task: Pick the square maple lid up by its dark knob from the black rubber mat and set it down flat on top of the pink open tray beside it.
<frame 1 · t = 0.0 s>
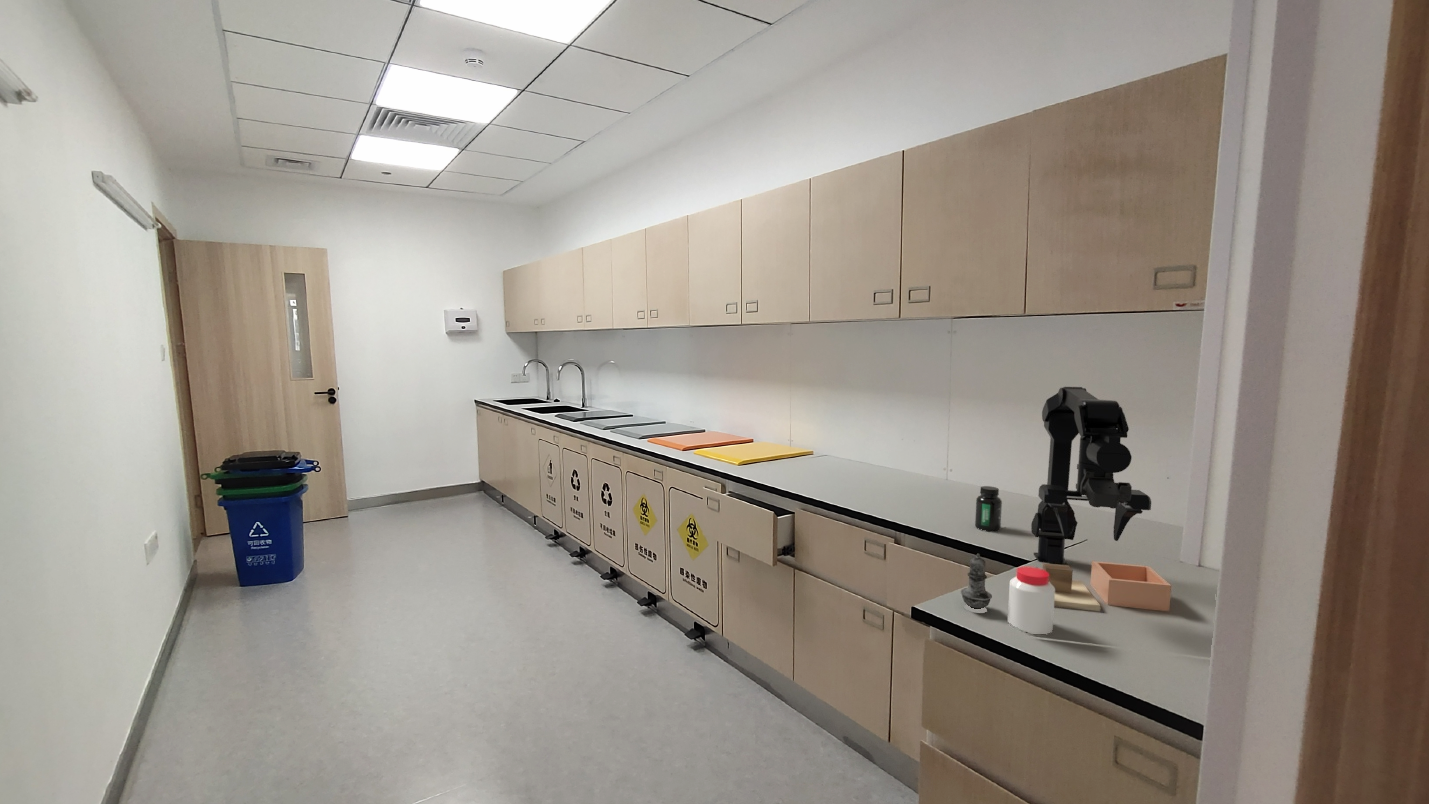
hand: (1089, 538, 125), 15 cm above the worktop, tool pointing down, fingers open, 9 cm apart
lid: (1055, 594, 132), resting on mat
pink open tray: (1127, 599, 131), on the worktop
mat: (1055, 596, 132), on the worktop
supplement bottle: (987, 528, 180), on the worktop
pill bottle: (1029, 628, 118), on the worktop
grey figurine: (975, 611, 125), on the worktop
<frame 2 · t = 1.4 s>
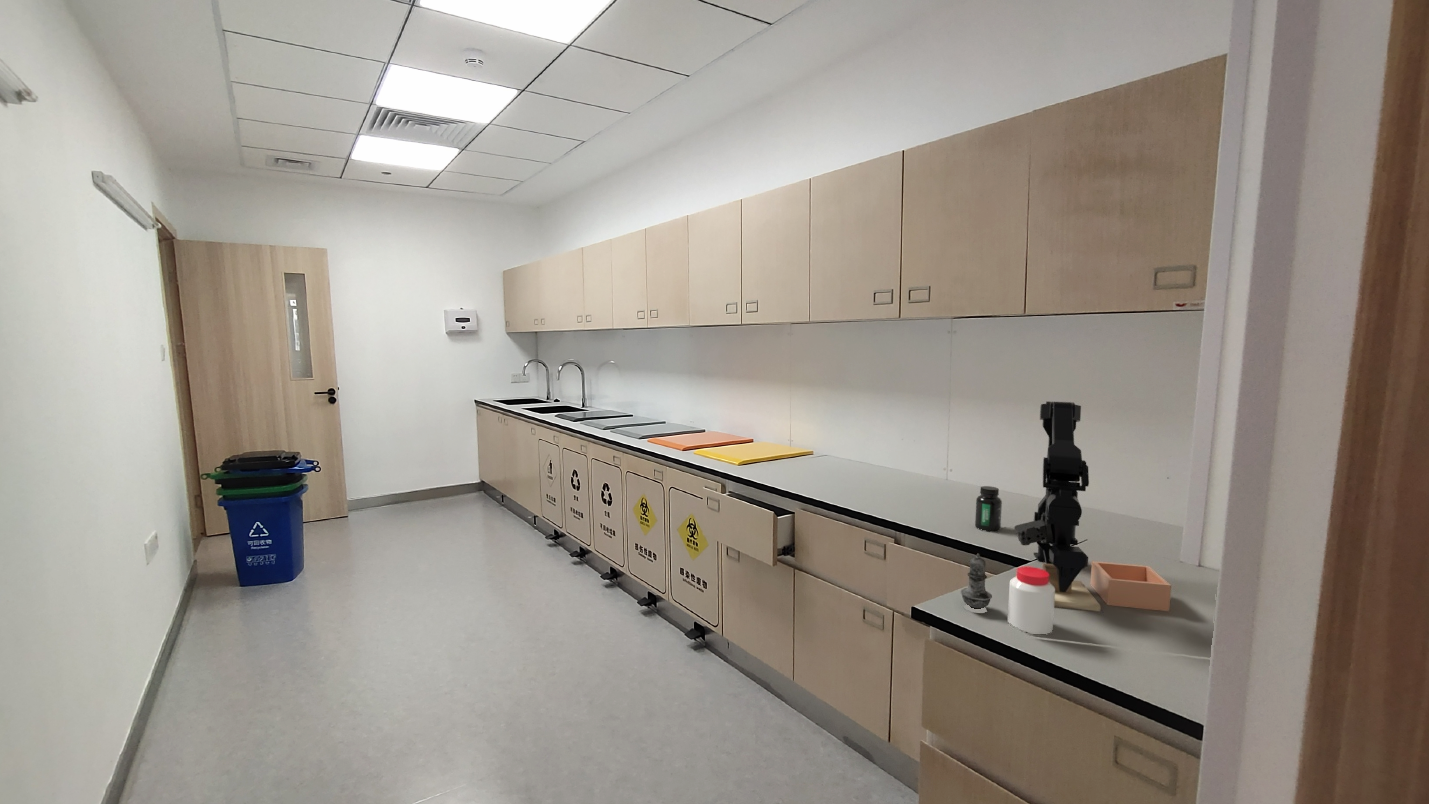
hand: (1056, 583, 132), 3 cm above the worktop, tool pointing down, fingers open, 9 cm apart
nothing on the worktop moved.
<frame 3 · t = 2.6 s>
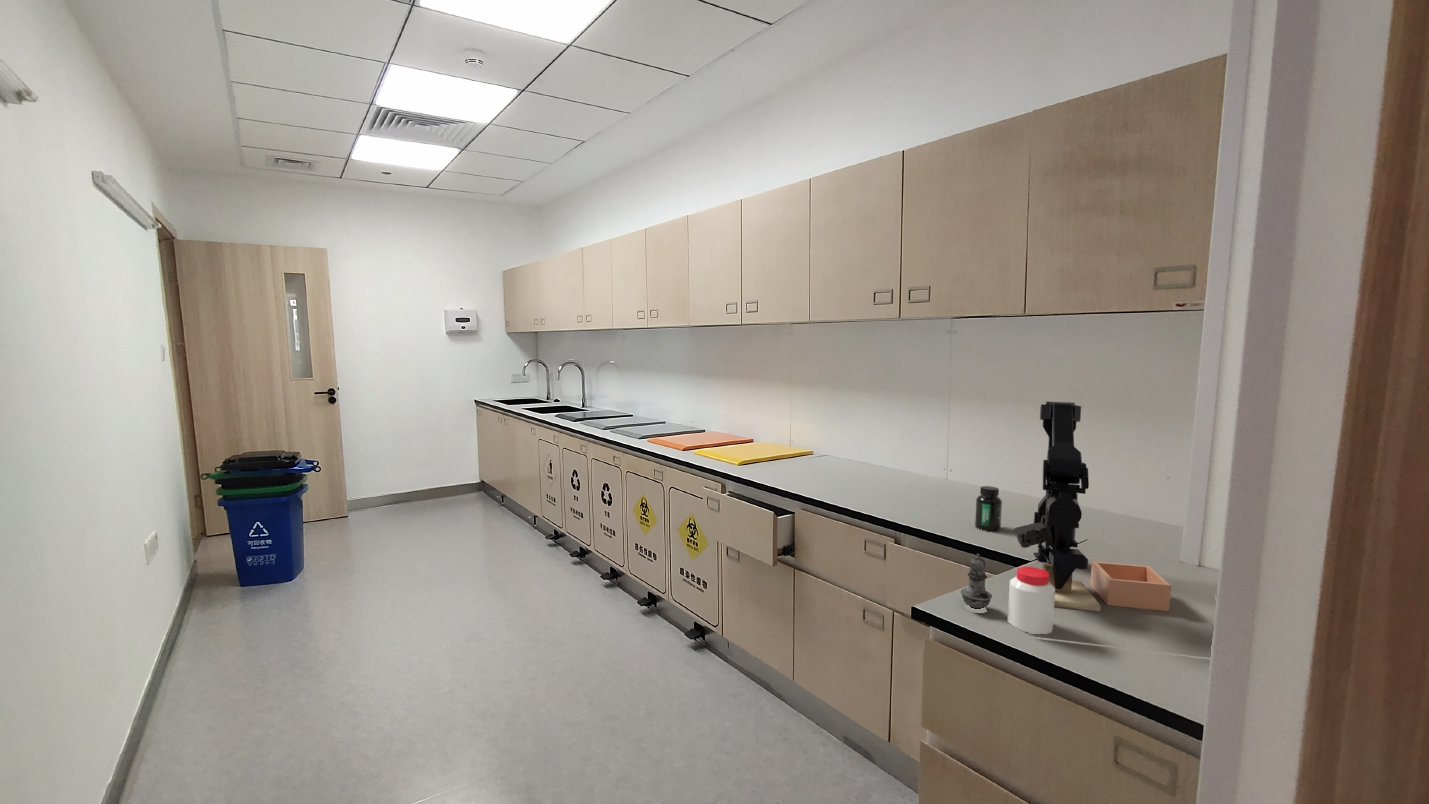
hand: (1056, 585, 132), 2 cm above the worktop, tool pointing down, fingers closed on lid, 3 cm apart
lid: (1055, 594, 132), resting on mat, touching gripper
everything else where it was.
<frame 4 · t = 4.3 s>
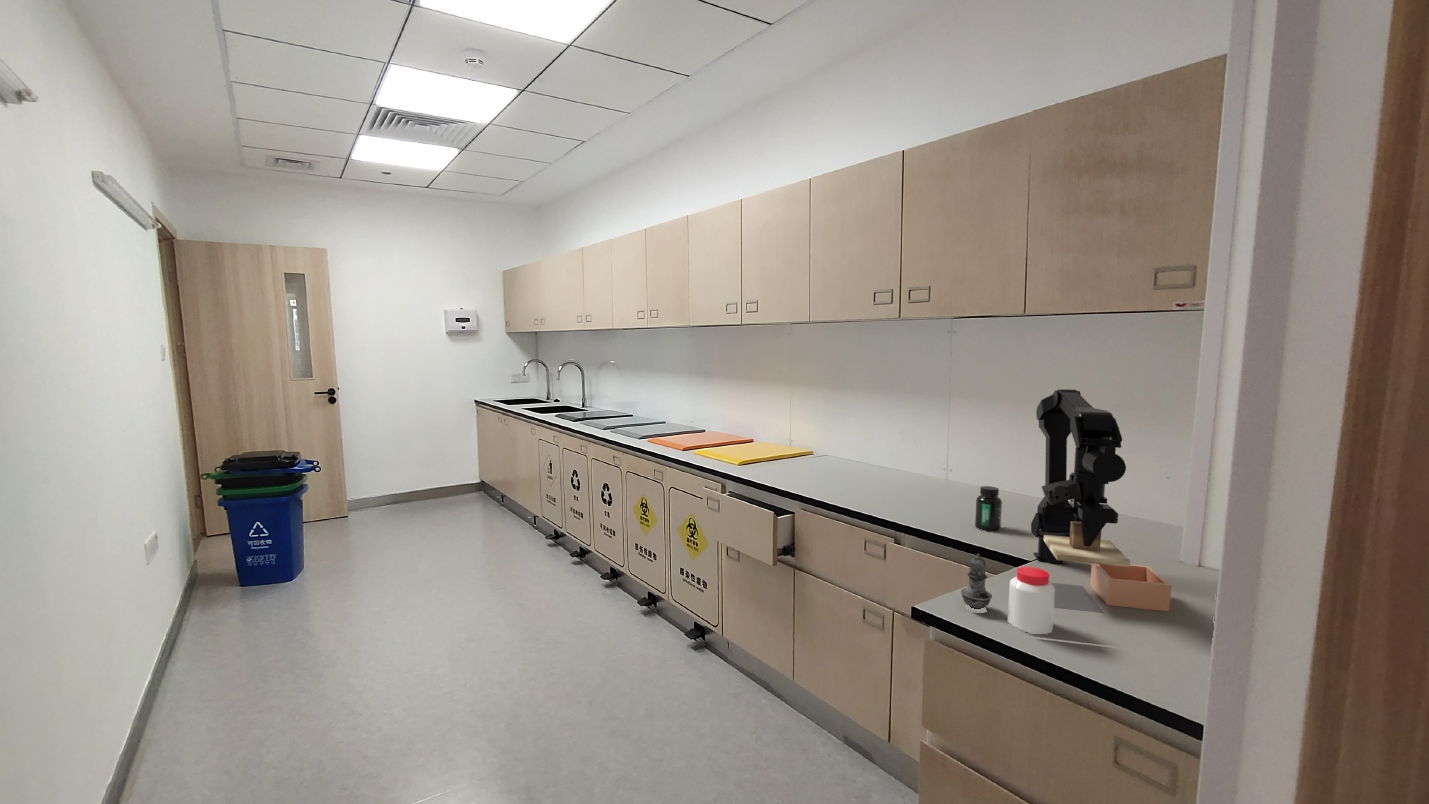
hand: (1084, 543, 130), 12 cm above the worktop, tool pointing down, fingers closed on lid, 3 cm apart
lid: (1083, 552, 131), point 10 cm above the worktop, touching gripper
everything else where it was.
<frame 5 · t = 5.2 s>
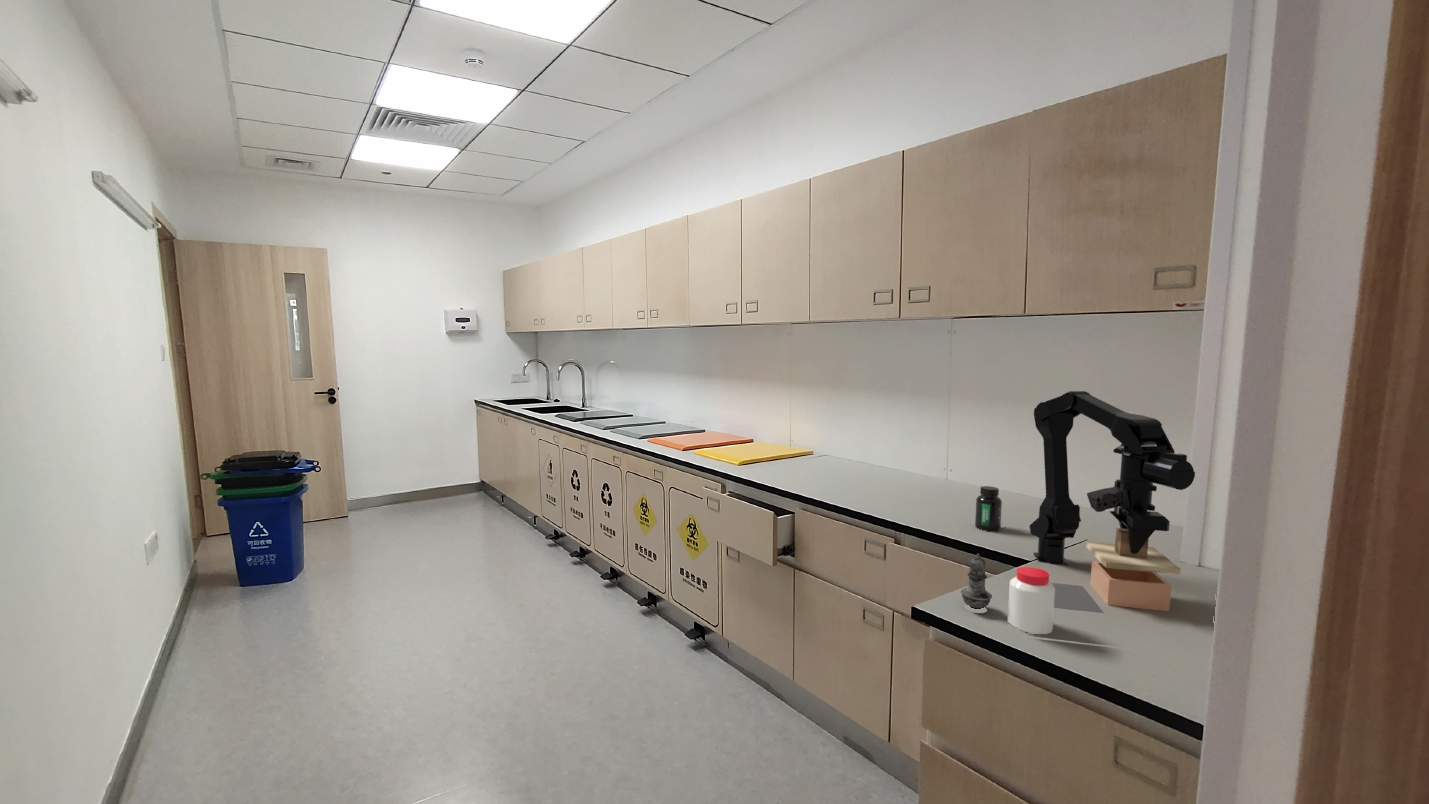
hand: (1130, 550, 130), 11 cm above the worktop, tool pointing down, fingers closed on lid, 3 cm apart
lid: (1130, 559, 130), point 9 cm above the worktop, touching gripper
everything else where it was.
when the fingers open (9 cm above the worktop, at t = 6.0 s): lid drops 2 cm, resting on pink open tray.
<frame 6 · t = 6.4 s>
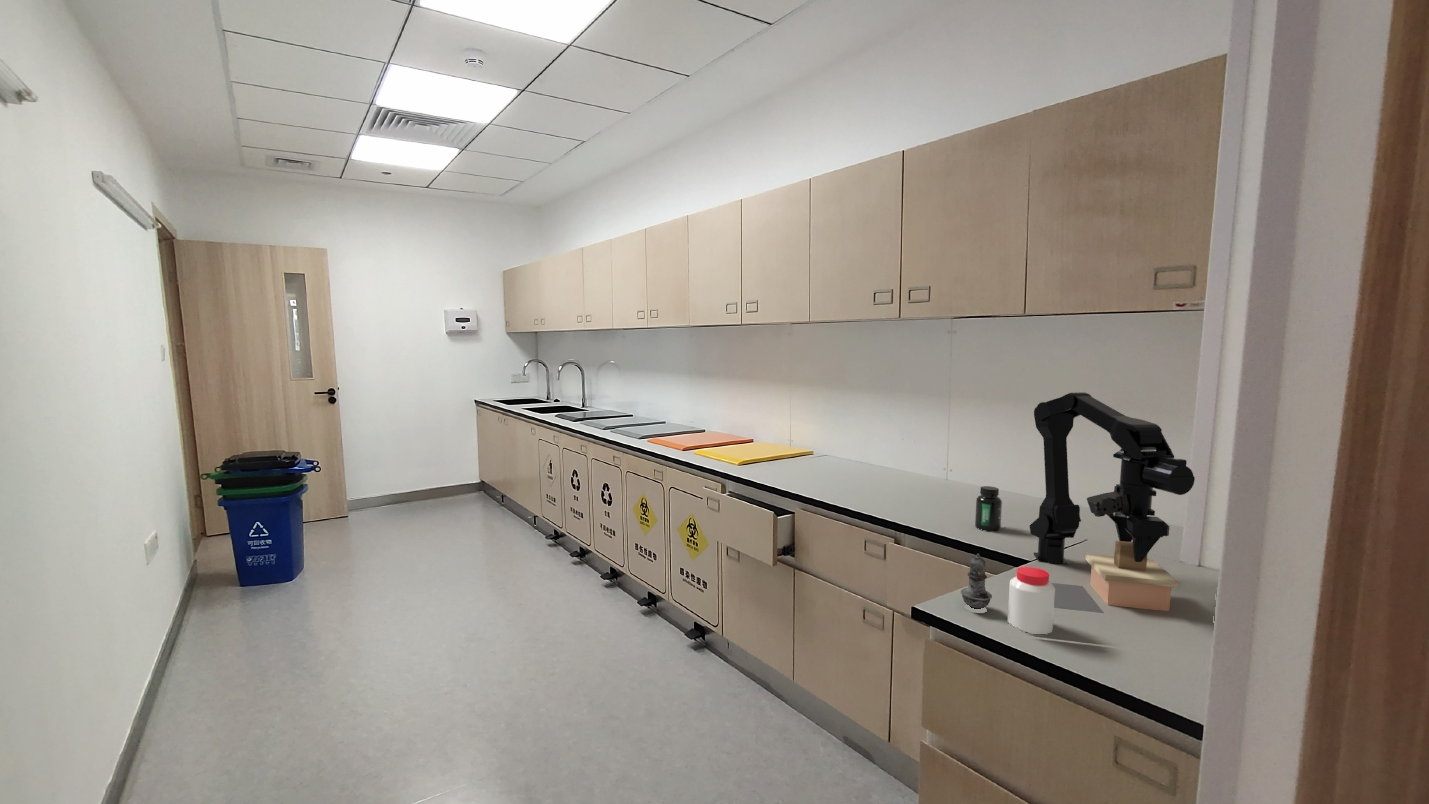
hand: (1130, 555, 130), 9 cm above the worktop, tool pointing down, fingers open, 7 cm apart
lid: (1129, 572, 131), point 6 cm above the worktop, touching pink open tray
pink open tray: (1127, 599, 131), on the worktop, touching lid
everything else where it was.
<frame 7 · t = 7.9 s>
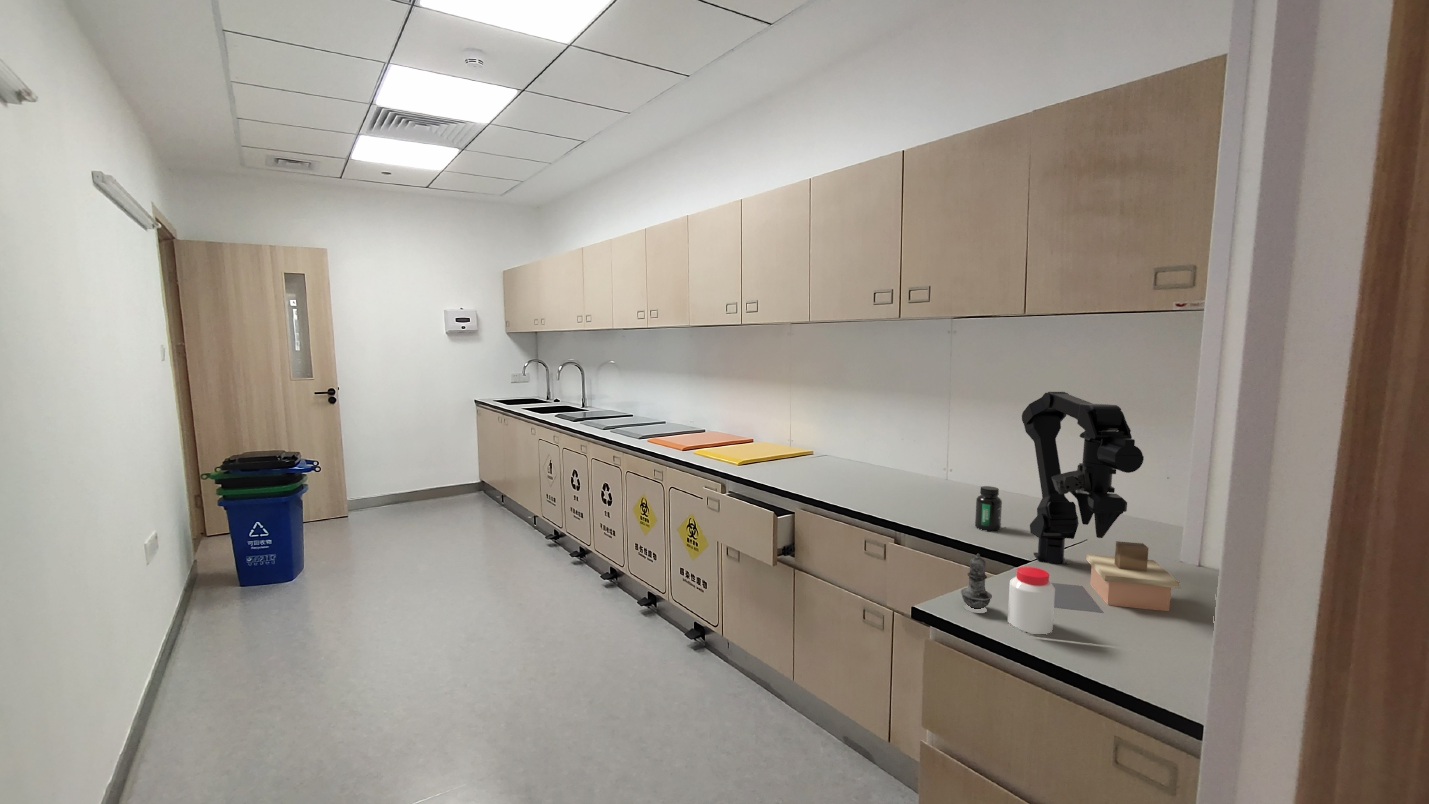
hand: (1092, 530, 136), 13 cm above the worktop, tool pointing down, fingers open, 9 cm apart
lid: (1129, 572, 130), point 6 cm above the worktop
pink open tray: (1127, 600, 131), on the worktop
everything else where it was.
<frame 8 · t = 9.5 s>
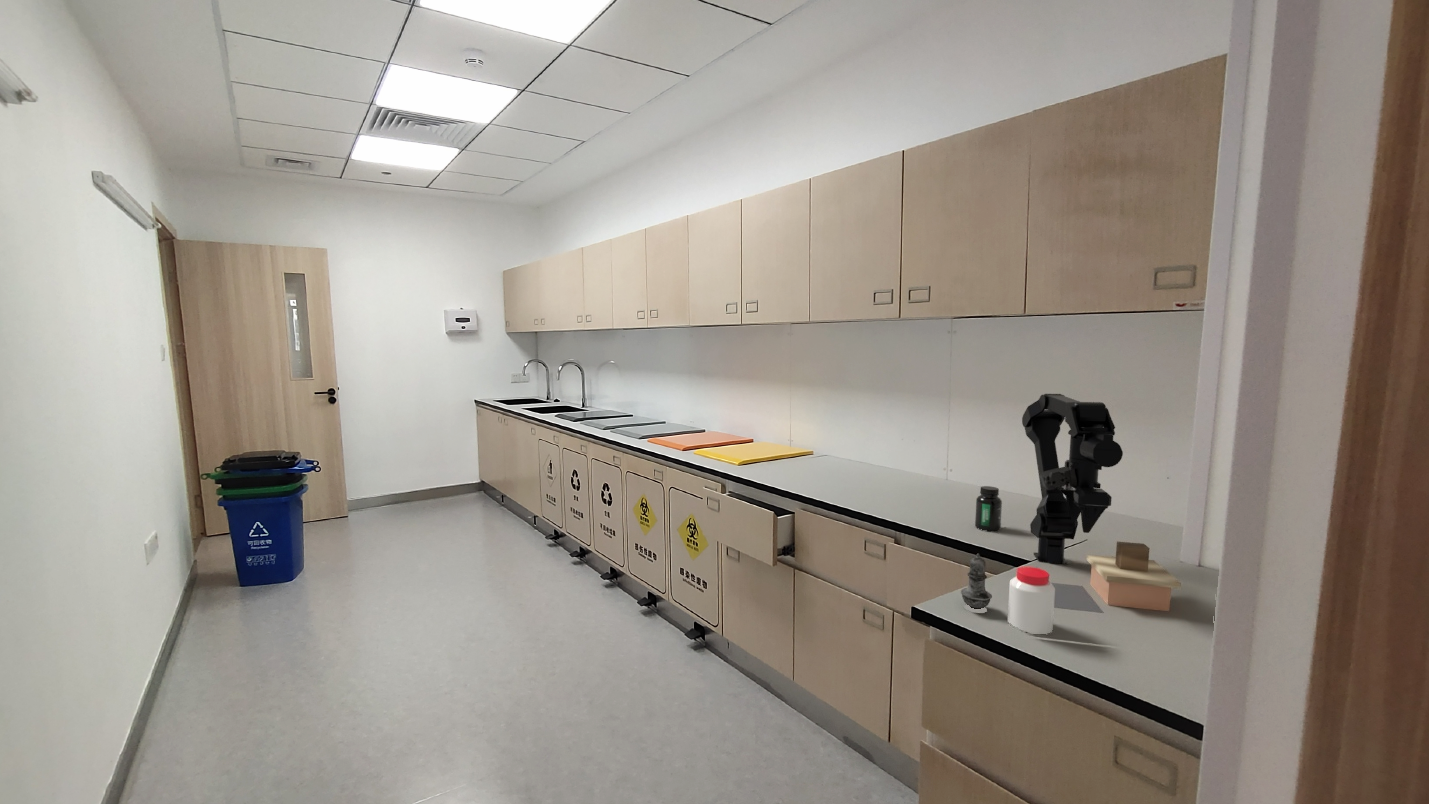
hand: (1079, 526, 138), 13 cm above the worktop, tool pointing down, fingers open, 9 cm apart
lid: (1130, 573, 130), point 6 cm above the worktop, touching pink open tray
pink open tray: (1127, 600, 131), on the worktop, touching lid
everything else where it was.
at the end: lid 0.3 cm off-centre on the pink open tray, point 6.0 cm above the pink open tray's base; lid tilted 0°; the gripper is holding nothing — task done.
